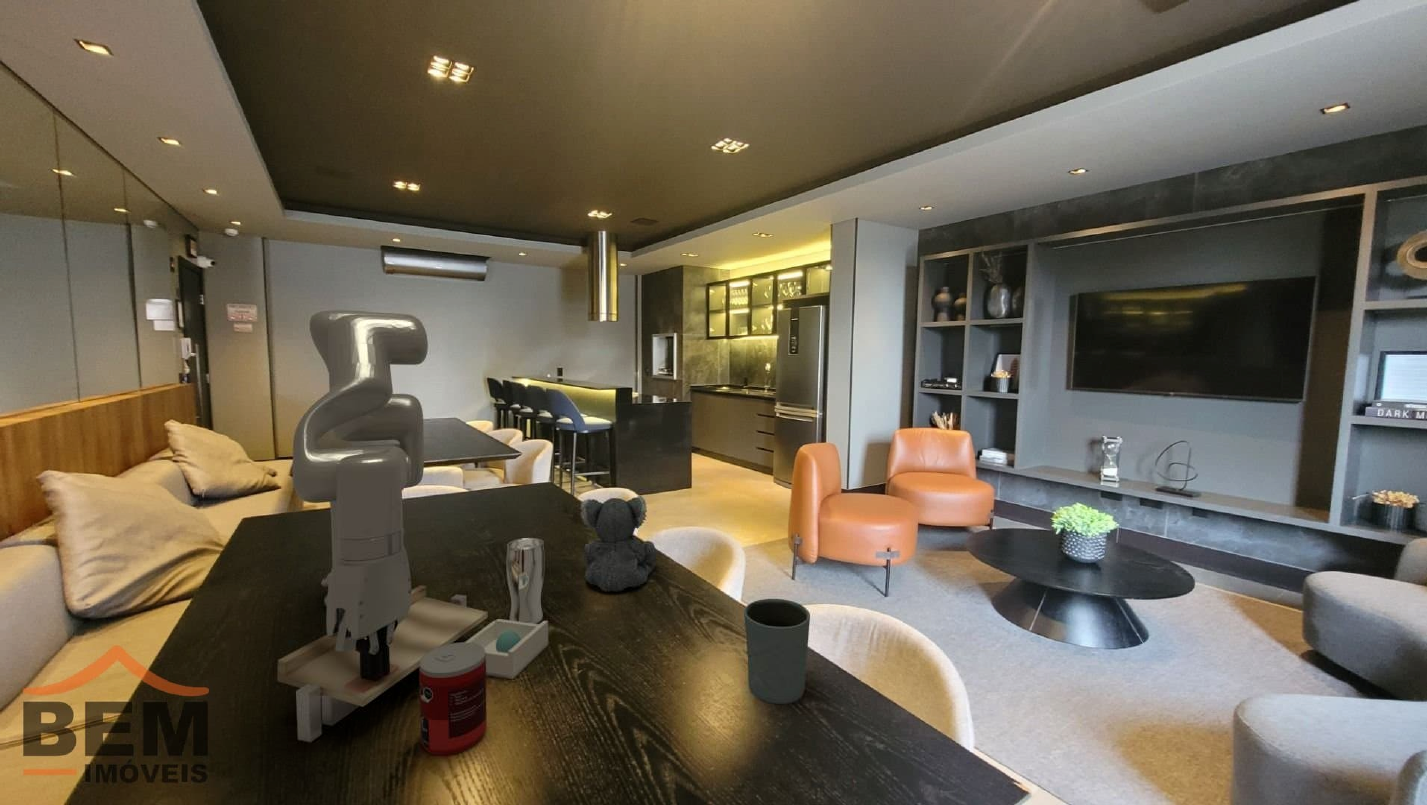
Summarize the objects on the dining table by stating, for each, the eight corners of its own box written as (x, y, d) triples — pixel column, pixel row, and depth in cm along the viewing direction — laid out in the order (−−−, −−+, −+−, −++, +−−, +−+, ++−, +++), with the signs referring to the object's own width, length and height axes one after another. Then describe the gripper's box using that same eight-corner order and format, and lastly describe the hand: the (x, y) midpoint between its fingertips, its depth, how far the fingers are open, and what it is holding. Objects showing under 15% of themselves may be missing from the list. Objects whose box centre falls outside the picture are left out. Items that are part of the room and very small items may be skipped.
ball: (512, 640, 89) (512, 663, 89) (526, 628, 93) (525, 651, 93) (490, 636, 90) (490, 659, 90) (505, 625, 94) (504, 647, 94)
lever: (420, 603, 100) (421, 584, 100) (487, 619, 97) (489, 600, 97) (275, 685, 74) (276, 660, 74) (361, 711, 71) (362, 685, 71)
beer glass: (533, 630, 101) (532, 550, 100) (499, 625, 103) (498, 547, 101) (551, 613, 108) (551, 538, 107) (519, 609, 109) (518, 536, 108)
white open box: (453, 669, 88) (453, 643, 87) (494, 637, 98) (494, 613, 98) (513, 679, 85) (512, 652, 85) (548, 645, 96) (547, 621, 95)
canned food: (435, 718, 76) (433, 642, 75) (494, 716, 76) (493, 640, 76) (409, 758, 68) (407, 673, 67) (475, 755, 69) (474, 671, 68)
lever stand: (457, 629, 101) (456, 594, 100) (466, 630, 100) (466, 595, 100) (297, 739, 71) (296, 690, 71) (310, 742, 71) (308, 693, 70)
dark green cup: (791, 715, 78) (794, 634, 77) (730, 692, 83) (731, 615, 82) (817, 681, 86) (820, 607, 85) (760, 661, 92) (762, 592, 91)
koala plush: (657, 565, 135) (658, 487, 133) (651, 596, 117) (652, 506, 116) (587, 564, 134) (587, 486, 133) (570, 595, 116) (569, 505, 115)
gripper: (391, 528, 82) (394, 646, 83) (296, 561, 68) (301, 704, 69) (434, 531, 81) (437, 652, 82) (346, 566, 66) (351, 713, 67)
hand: (375, 675), depth 75 cm, fingers closed
